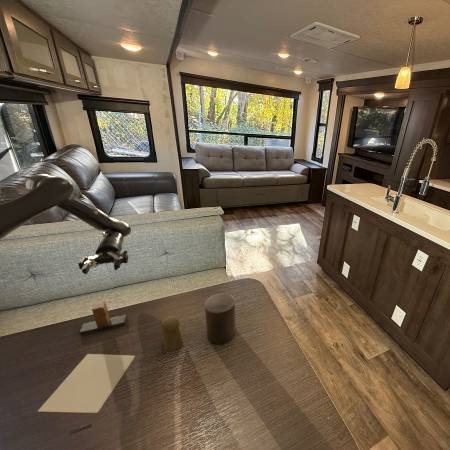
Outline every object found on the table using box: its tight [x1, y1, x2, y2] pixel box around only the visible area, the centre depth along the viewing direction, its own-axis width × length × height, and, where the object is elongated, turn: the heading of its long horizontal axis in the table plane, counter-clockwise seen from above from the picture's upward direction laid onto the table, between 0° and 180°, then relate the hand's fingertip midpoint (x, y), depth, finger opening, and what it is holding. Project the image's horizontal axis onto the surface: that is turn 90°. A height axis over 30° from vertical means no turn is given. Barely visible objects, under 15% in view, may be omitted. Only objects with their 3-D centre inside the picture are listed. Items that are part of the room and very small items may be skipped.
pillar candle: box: [204, 293, 237, 345], centre depth 84 cm, size 10×10×15 cm
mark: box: [68, 423, 93, 435], centre depth 57 cm, size 4×1×1 cm
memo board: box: [37, 353, 136, 414], centre depth 67 cm, size 14×16×1 cm
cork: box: [160, 315, 185, 353], centre depth 78 cm, size 6×6×11 cm
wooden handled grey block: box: [79, 301, 128, 336], centre depth 82 cm, size 12×4×10 cm, turn 116°
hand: (100, 269), depth 86 cm, fingers open, 8 cm apart
